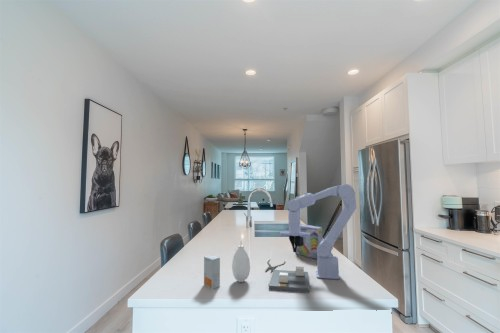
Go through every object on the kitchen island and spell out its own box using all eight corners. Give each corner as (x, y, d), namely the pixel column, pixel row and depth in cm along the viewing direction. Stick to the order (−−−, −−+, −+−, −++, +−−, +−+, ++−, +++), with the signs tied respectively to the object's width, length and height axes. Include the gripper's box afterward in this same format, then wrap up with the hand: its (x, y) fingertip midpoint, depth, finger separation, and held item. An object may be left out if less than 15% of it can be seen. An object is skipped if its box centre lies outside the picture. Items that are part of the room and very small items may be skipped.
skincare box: (203, 285, 109) (203, 256, 109) (211, 282, 112) (211, 254, 112) (211, 289, 104) (212, 259, 105) (220, 286, 107) (220, 257, 108)
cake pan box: (293, 253, 157) (292, 223, 158) (298, 251, 160) (298, 222, 161) (318, 260, 142) (318, 228, 143) (324, 258, 145) (323, 227, 146)
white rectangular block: (288, 280, 109) (288, 272, 110) (287, 282, 106) (287, 275, 107) (279, 279, 110) (279, 272, 110) (279, 282, 107) (279, 274, 107)
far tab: (303, 273, 117) (303, 266, 117) (303, 276, 114) (303, 269, 114) (295, 273, 118) (295, 266, 118) (295, 275, 115) (295, 268, 115)
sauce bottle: (234, 285, 108) (234, 242, 109) (230, 279, 115) (230, 238, 116) (252, 283, 110) (252, 241, 111) (247, 277, 118) (247, 237, 119)
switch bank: (307, 275, 120) (307, 271, 120) (309, 292, 101) (309, 288, 101) (273, 272, 123) (273, 269, 123) (268, 289, 104) (268, 285, 104)
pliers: (285, 259, 142) (285, 272, 122) (285, 261, 142) (285, 274, 122) (267, 259, 143) (264, 271, 124) (267, 260, 143) (264, 273, 123)
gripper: (278, 224, 124) (279, 253, 123) (309, 225, 121) (310, 254, 120) (280, 222, 131) (280, 249, 130) (309, 223, 128) (309, 250, 127)
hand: (294, 251), depth 125 cm, fingers closed
